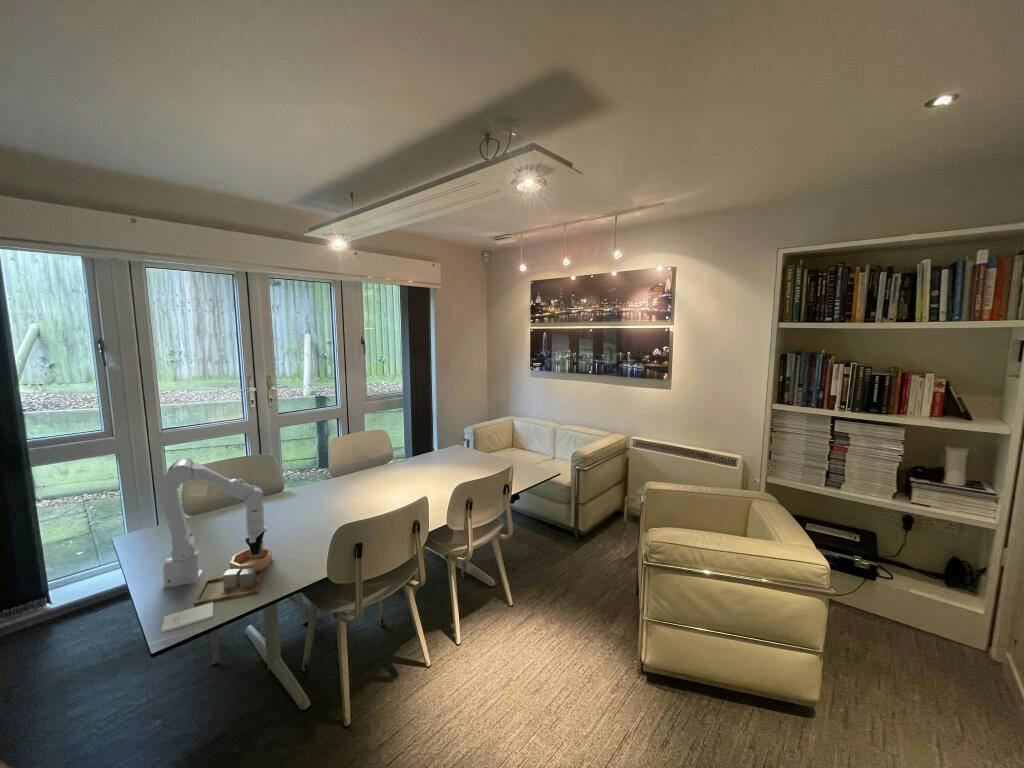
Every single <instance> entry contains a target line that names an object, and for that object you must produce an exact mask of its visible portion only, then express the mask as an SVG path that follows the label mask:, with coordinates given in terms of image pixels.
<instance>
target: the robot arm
mask: <svg viewBox="0 0 1024 768" xmlns="http://www.w3.org/2000/svg"><path fill="white" fill-rule="evenodd" d="M190 479H191V480H190ZM189 480H190V482H195V481H197V480H204V481H206V482H207V483H211V484H214V485H216V486H219V487H221V488H224V493H226V494H228V495H230V496H233V497H234V498H237V499H238V500H241V501H244V503H245V504H246V508H245V514H246V515H245V518H246V530H245V531H246V532H245V533H246V536H247V537H246V538H245V543H246V545H248V547H249V549H250V550H251V553H252V555H256V554H259V550H260V544H261V541H262V540H264V534H265V533H266V532H267V530H268V526H265V514H264V505H263V504H264V502H263V501H264V499H265V498H264V492H263V490H262V488H261V487H260V486H258V485H254V484H252V485H250V484H248V483H246V482H245V481H244V480H243V479H242V478H231V479H230V478H228V477H226V476H223V475H222V474H220V473H218V472H216V471H215V470H212V469H210V468H208V467H207V466H205V465H203V464H201V463H199V462H197V461H193V460H191V459H190V458H180V459H177V460H175V462H174V463H173V464H172V465H170V466H169V468H168V469H167V471H166V473H165V475H164V477H163V478H162V480H161V482H160V484H159V486H158V488H157V493H158V496H159V499H160V502H161V506H162V508H163V512H164V513H163V514H164V516H165V519H166V523H167V525H168V529H169V531H170V534H171V546H172V550H171V554H170V555H171V557H167V558H166V559H165V561H164V563H163V568H162V569H163V589H164V588H171V587H176V586H181V585H188V584H193V583H197V582H198V580H199V579H200V577H201V574H202V573H203V569H199V556H198V555H199V554H198V550H197V549H196V544H197V542H198V539H197V536H196V535H195V534H194V533H193V532H192V530H191V528H190V527H189V525H188V522H187V519H186V515H185V512H184V508H183V505H182V501H181V499H180V496H179V495H180V494H179V492H178V488H179V487H180V486H181V485H183V484H184V483H185V482H187V481H189Z"/></svg>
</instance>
